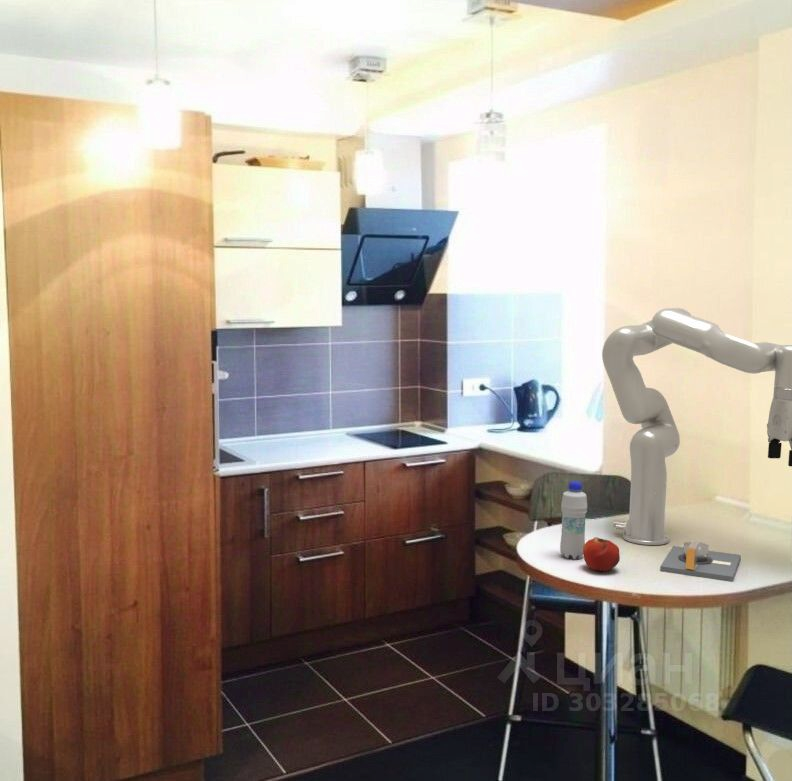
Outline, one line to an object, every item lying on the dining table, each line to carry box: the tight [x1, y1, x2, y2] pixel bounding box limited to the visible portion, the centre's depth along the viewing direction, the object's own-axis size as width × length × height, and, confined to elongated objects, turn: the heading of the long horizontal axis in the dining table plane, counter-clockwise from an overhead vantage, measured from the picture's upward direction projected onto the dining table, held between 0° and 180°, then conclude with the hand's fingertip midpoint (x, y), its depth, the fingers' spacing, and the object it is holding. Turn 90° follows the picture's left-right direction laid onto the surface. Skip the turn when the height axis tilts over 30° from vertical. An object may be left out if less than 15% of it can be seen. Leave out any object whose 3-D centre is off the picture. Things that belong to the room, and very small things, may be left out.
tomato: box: [583, 536, 621, 572], centre depth 228 cm, size 9×9×8 cm
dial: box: [683, 541, 710, 570], centre depth 230 cm, size 13×6×5 cm, turn 154°
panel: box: [659, 545, 742, 582], centre depth 233 cm, size 17×20×2 cm
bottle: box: [559, 480, 588, 560], centre depth 237 cm, size 7×7×20 cm
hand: (784, 462), depth 231 cm, fingers open, 9 cm apart
